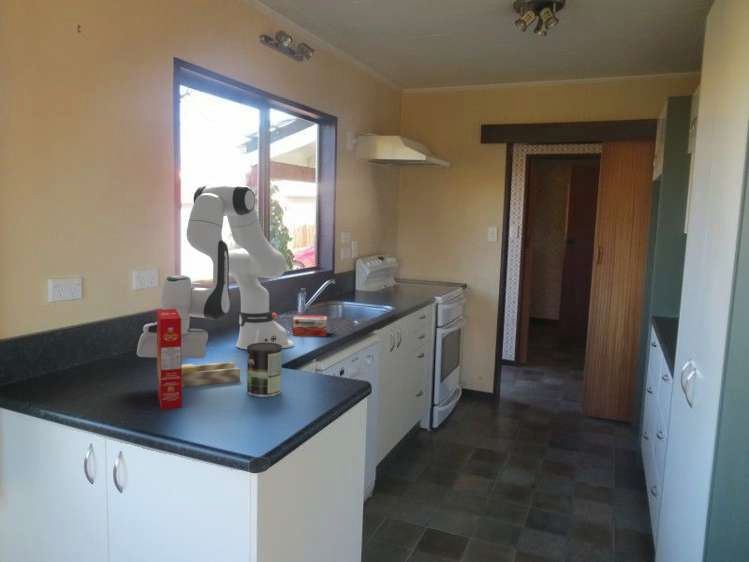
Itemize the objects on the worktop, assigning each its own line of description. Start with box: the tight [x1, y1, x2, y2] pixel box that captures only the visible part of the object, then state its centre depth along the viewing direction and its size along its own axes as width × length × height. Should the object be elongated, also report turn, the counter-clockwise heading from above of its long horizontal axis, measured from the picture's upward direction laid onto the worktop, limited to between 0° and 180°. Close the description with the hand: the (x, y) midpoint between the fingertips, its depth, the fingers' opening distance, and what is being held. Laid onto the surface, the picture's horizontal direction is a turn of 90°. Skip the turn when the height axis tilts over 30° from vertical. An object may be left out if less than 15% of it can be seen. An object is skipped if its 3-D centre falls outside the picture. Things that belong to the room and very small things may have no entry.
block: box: [181, 363, 195, 373], centre depth 179 cm, size 5×5×5 cm
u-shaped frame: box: [182, 361, 241, 388], centre depth 181 cm, size 20×9×5 cm, turn 117°
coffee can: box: [246, 343, 283, 398], centre depth 171 cm, size 10×10×14 cm
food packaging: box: [156, 309, 183, 411], centre depth 160 cm, size 15×5×25 cm, turn 24°
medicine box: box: [291, 314, 328, 337], centre depth 255 cm, size 15×8×8 cm, turn 92°
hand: (170, 372), depth 177 cm, fingers closed, pressing on u-shaped frame
